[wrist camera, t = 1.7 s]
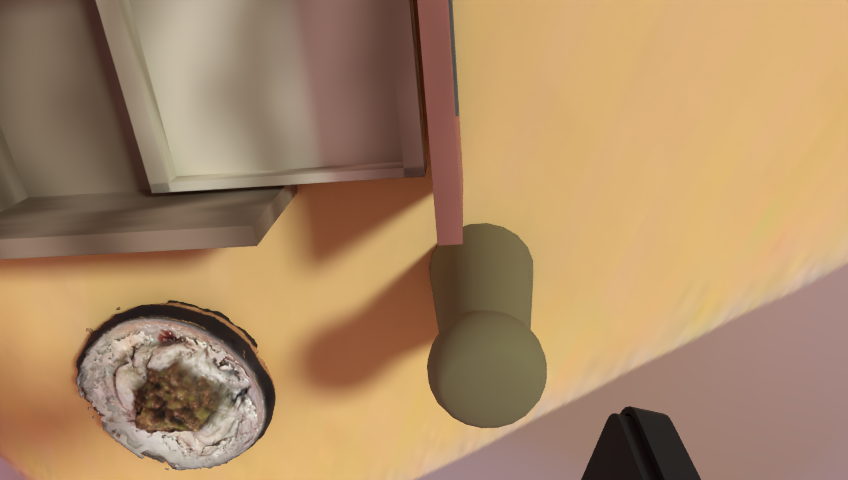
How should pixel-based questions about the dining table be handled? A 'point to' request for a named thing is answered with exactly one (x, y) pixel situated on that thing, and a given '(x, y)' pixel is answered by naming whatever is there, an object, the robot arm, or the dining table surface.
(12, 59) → the caddy
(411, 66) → the drawer
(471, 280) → the olive green pawn
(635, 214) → the dining table surface
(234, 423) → the pie
